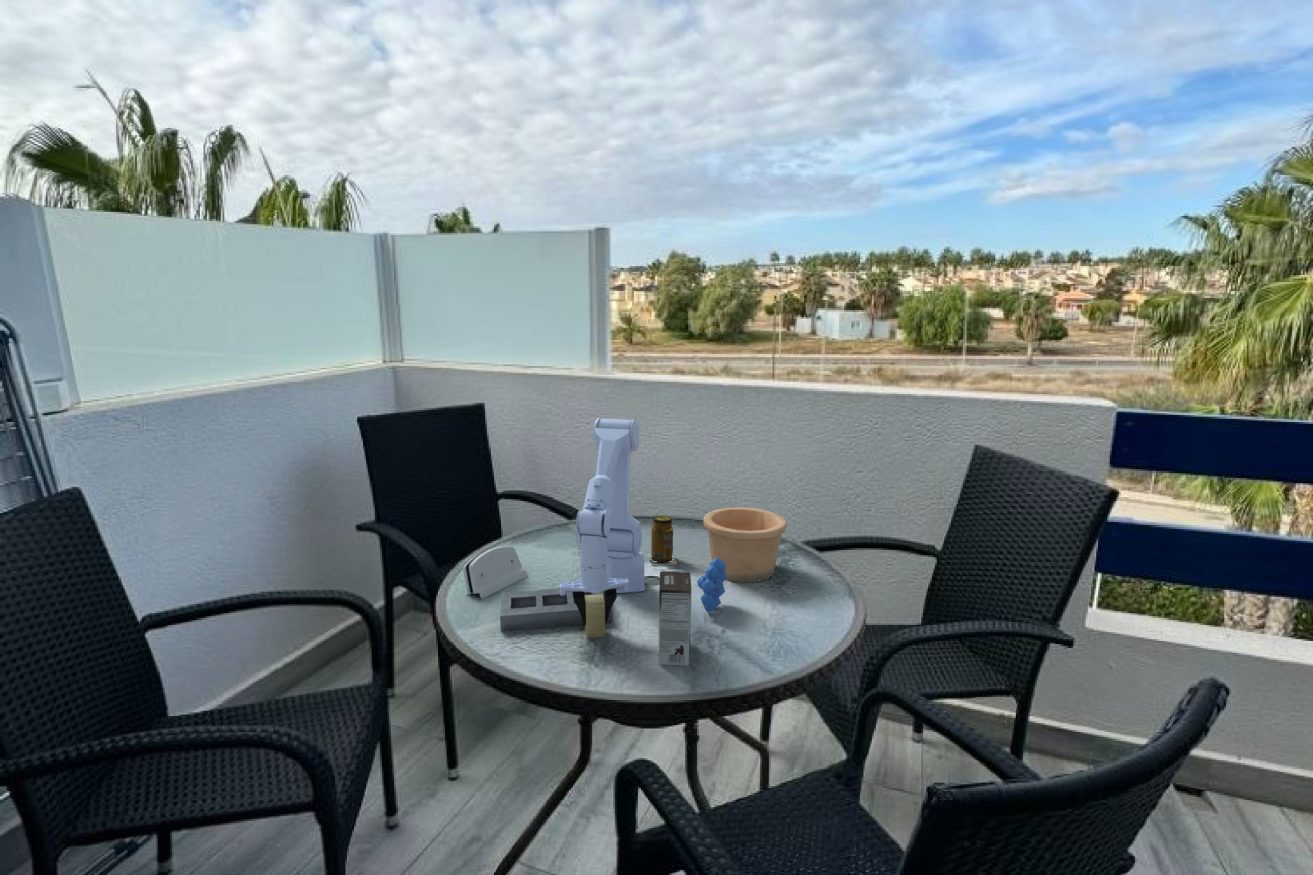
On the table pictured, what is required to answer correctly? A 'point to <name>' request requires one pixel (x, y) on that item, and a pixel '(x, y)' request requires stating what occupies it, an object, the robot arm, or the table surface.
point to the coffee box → (674, 618)
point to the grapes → (713, 584)
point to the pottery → (745, 541)
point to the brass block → (595, 616)
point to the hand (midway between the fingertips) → (594, 622)
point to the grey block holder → (538, 609)
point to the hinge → (493, 571)
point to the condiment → (662, 541)
